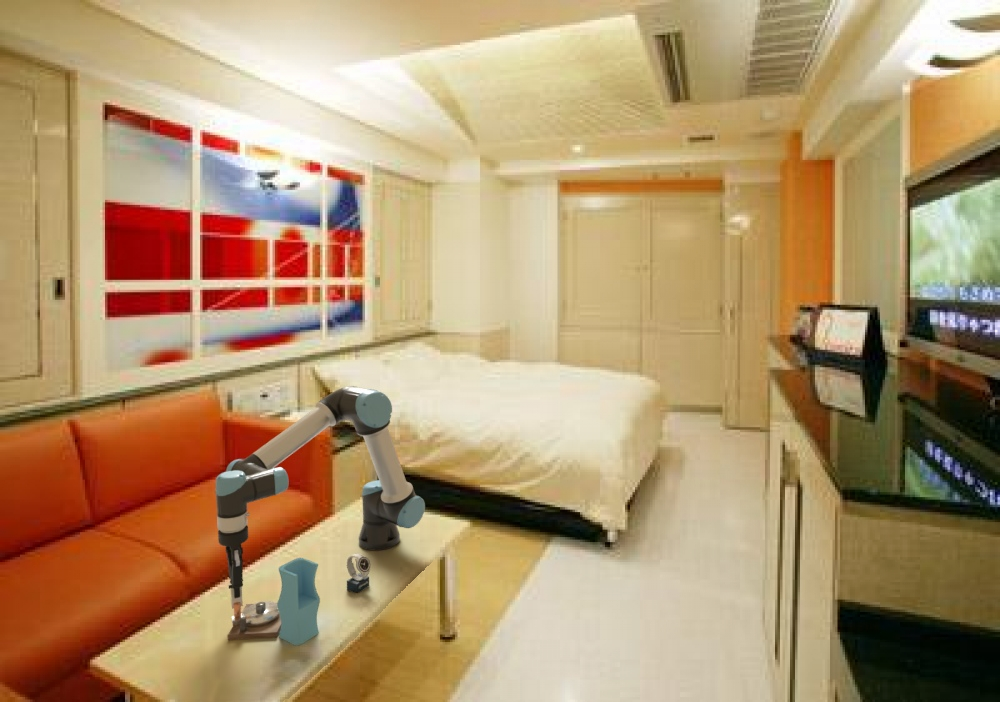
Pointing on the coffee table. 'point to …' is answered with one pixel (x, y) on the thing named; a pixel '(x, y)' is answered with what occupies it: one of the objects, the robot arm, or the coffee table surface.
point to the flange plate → (256, 613)
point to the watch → (358, 580)
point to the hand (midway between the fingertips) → (237, 606)
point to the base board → (255, 629)
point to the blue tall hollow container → (298, 601)
